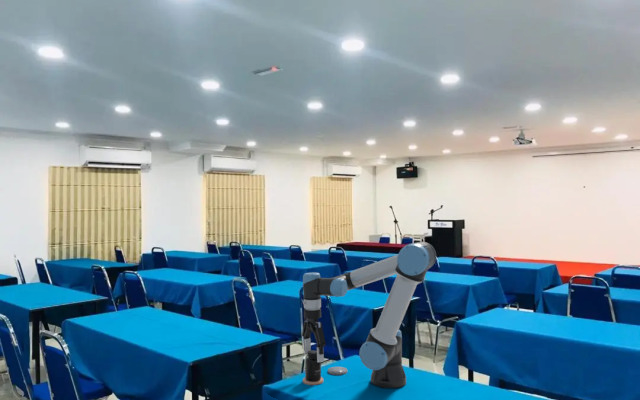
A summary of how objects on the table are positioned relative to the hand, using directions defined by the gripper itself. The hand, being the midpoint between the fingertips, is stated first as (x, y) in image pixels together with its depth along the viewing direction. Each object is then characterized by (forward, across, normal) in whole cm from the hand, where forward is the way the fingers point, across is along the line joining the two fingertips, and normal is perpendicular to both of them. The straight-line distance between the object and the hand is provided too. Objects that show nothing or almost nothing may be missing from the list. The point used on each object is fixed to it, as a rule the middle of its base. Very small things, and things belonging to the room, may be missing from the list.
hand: (314, 357), depth 212 cm
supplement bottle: (+10, -1, 0) cm, 10 cm away
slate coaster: (+10, -7, +14) cm, 19 cm away
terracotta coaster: (+10, -1, 0) cm, 10 cm away
